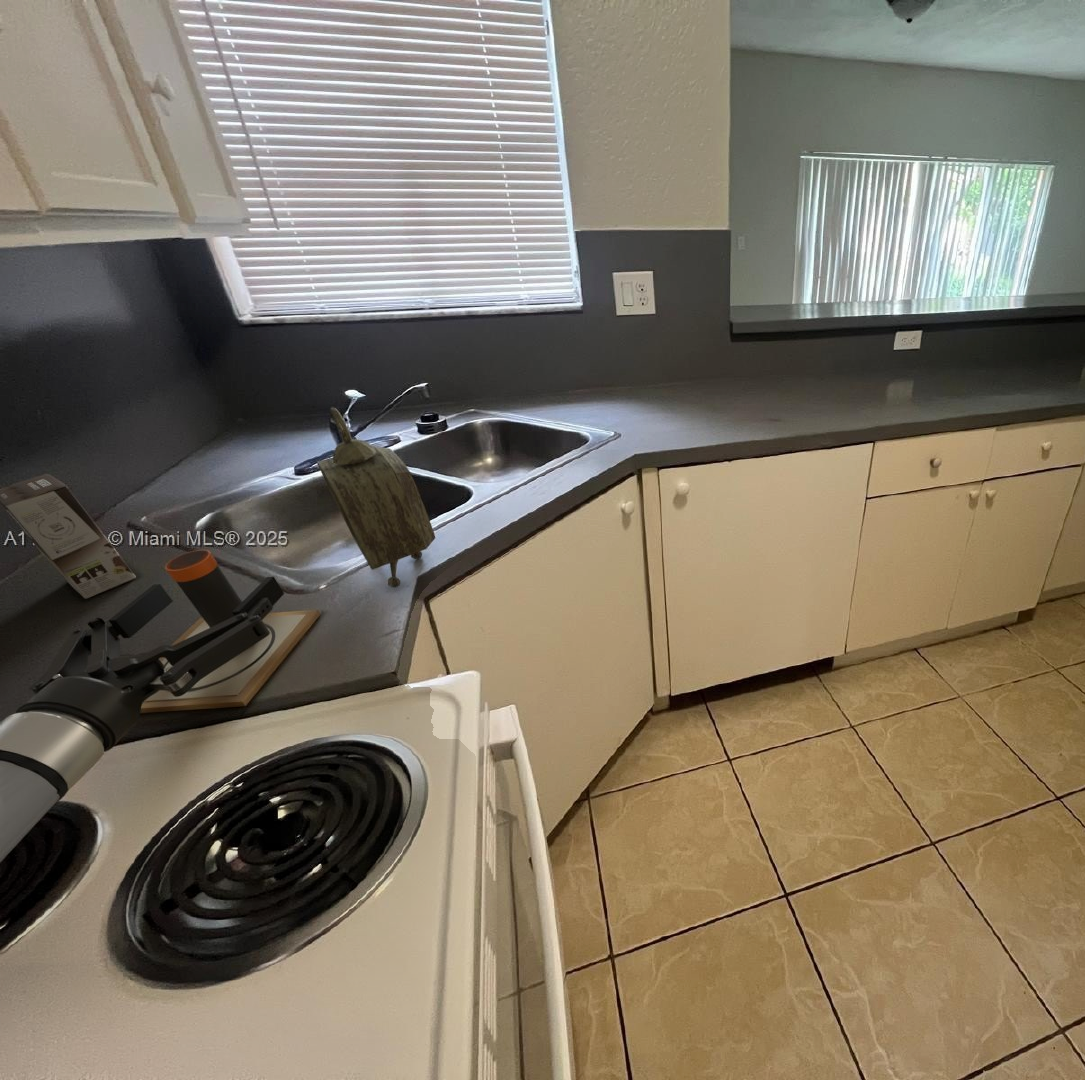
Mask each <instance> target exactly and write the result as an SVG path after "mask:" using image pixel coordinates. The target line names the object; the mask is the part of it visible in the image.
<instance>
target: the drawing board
mask: <svg viewBox="0 0 1085 1080" xmlns="http://www.w3.org/2000/svg"><path fill="white" fill-rule="evenodd" d="M321 615H322V614H321V611H320V609H308V610H306V609H305V610H294V611H278V612H277V611H276V612H275V611H274V612H269V613H268V614H267V615H266V617H265V618H264V619H263V620H262V621H263V623H264V624H265V626H266V627H267V629H268V630H269V632H270V634H269V635H268V636H267V637H265V638H264V639H262V640H261V641H259V642H258V643H256V644H254V645H253V646H251V647H250V648H248V649H247V650H245V651H244V652H242V653H241V654H239V655H238V656H236V657H235V658H233V659H231V660H230V661H228V662H227V663H225V664H224V665H222V666H221V667H219V668H218V669H216V670H215V671H213V672H211V673H210V674H208V675H207V676H205V677H204V678H202V679H201V680H200V681H198V682H197V683H196V684H195V685H194V686H193V687H192V688H191V689H190V690H189V691H188V692H187V693H185V694H184V695H182V696H179V697H174V695H173V694H172V693H171V692H170V691H168V690H159V691H158V692H157V693H155V694H153V695H152V696H150V697H149V698H147V699H146V700H145V701H144V702H143V703H142V706H141V711H140V714H150V713H161V712H162V713H164V712H178V711H194V710H207V709H222V708H223V709H224V708H235V707H236V708H238V707H247V705H248V704H249V703H250V702H251V701H252V699H253V698H254V696H256V695H257V693H258V692H259V690H261V688H262V687H263V686H264V684H265V683H266V682H267V681H268V679H269V678H270V677H271V676H272V675H273V673H274V672H275V671H276V670H277V669H278V667H279V666H280V665H281V664H282V662H283V661H284V660H285V659H286V657H287V656H288V655H289V654H290V652H291V651H292V650H293V649H294V647H295V646H296V645H298V643H299V641H301V639H302V638H303V637H304V636H305V634H306V633H307V632H308V630H309V629H310V628H311V627H312V626H313V624H314V623H315V622H316V621H317V620H318V618H319V617H320V616H321ZM209 628H210V627H209V626H208V624H207V623H206V622H205V620H204V619H203V618H202V616H201V617H199V619H198V620H196V621H195V622H194V623H193V624H192V625H191V626H190V627H189V628H188V629H187V630H186V631H185V632H184V633H182V634H181V635H180V636H179V637H178V638H177V639H176V640H175V641H174V642H172V644H171V645H170V646H173V645H175V644H177V643H179V642H181V641H183V640H185V639H188V638H190V637H192V636H194V635H196V634H198V633H200V632H202V631H204V630H206V629H209ZM159 660H160V661H161V662H162V663H163V664H164V667H165V669H166V668H167V667H169V666H172V665H171V664H170V663H169V662H168V661H167V659H166V658H164V657H161V658H159ZM164 672H166V670H165V671H164Z"/></svg>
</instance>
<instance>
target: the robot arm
mask: <svg viewBox="0 0 1085 1080" xmlns="http://www.w3.org/2000/svg"><path fill="white" fill-rule="evenodd" d="M284 595H285V592H284V590H283V589H282V588H281V586H280V584H279V583H278V581H277V579H276V577H275V576H267V577H265V579H264V580H262V581H261V583H260V584H259V585H257V587H256V588H255V589H254V590H253V591H252V592H251V593H249V595H247V597H246V598H244V599H243V600H242V603H241V604H240V605H239V606H238V607H237V608H236V609H235V610H234V611H232V613H233V614H234V617H232V618H230V619H228V620H225V621H223V622H221V623H219V624H217V625H215V626H213V627H211V628H209V629H206V630H204V631H202V632H200V633H198V634H196V635H194V636H192V637H190V638H188V639H185V640H183V641H181V642H179V643H177V644H175V645H173V646H171V645H161V646H158V647H156V648H154V649H152V650H150V651H148V652H142V653H137V654H131V653H122V654H121V639H120V638H119V636H121V637H122V638H123V639H130V638H132V637H133V636H134V635H135V634H137V633H138V632H139V631H140V630H141V629H142V628H144V627H145V626H147V624H148V623H150V622H151V621H152V620H154V618H156V616H158V615H159V614H160V613H161V612H162V611H164V610H165V609H166V608H168V606H169V605H170V604H172V603H173V602H174V600H173V598H171V596H170V595H169V594H168V592H167V591H166V590H165V589H164V587H163V586H162V585H161V584H160V583H157V584H154V583H153V584H152V585H151V586H150V587H148V589H146V590H145V591H143V592H142V593H141V594H140V595H138V596H137V597H136V598H134V600H132V601H131V602H130V603H128V604H127V605H125V606H124V607H123V608H122V609H120V610H119V611H118V612H117V613H115V614H114V615H113V616H112V617H110V619H108V620H107V621H105V620H104V619H103V618H102V617H101V616H99V617H95V618H92V619H90V620H88V621H87V625H88V626H89V628H90V629H86V628H85V627H79V628H75V629H73V630H72V631H70V633H69V634H68V636H67V638H66V639H65V640H64V642H63V644H62V646H61V648H60V649H59V651H58V652H57V654H56V655H55V657H54V659H53V661H52V662H51V664H50V665H49V667H48V668H47V670H46V672H45V673H44V674H43V675H42V676H41V677H40V678H39V679H37V680H36V681H35V682H34V683H33V684H32V685H31V686H30V687H29V689H30V691H32V692H33V693H34V695H33V696H32V697H31V698H29V699H28V700H27V701H26V702H24V703H23V704H22V705H20V706H19V707H18V708H17V709H16V712H15V713H13V714H10V715H8V716H6V717H5V718H4V719H3V720H1V721H0V863H2V862H3V860H4V859H5V858H6V857H7V856H8V855H9V854H10V853H11V852H12V851H13V849H14V848H15V847H17V845H18V844H19V843H20V842H21V841H22V840H23V838H25V837H26V835H28V833H29V832H30V831H31V830H32V829H33V828H34V827H35V826H36V824H37V823H39V821H40V820H41V819H43V817H44V816H45V815H46V814H47V813H48V812H49V811H50V810H51V809H52V807H53V806H56V805H57V804H58V803H59V802H60V801H61V800H62V799H63V798H64V797H65V796H66V795H67V793H68V792H69V791H70V790H71V789H72V788H73V787H74V786H75V785H76V784H77V783H78V782H79V781H80V780H81V779H83V777H84V776H85V775H86V774H87V773H88V772H90V770H91V769H92V768H93V767H94V766H95V765H96V764H97V763H98V762H99V761H100V760H101V759H102V758H103V756H104V755H105V753H106V752H108V751H110V750H111V749H113V748H114V747H115V746H116V744H117V743H118V742H120V741H121V740H122V738H123V737H125V736H126V734H128V733H129V731H130V730H131V729H133V727H135V725H136V724H137V723H138V721H139V720H140V717H141V713H140V711H141V706H142V703H143V702H144V701H145V700H146V699H147V698H149V697H150V696H152V695H153V694H155V693H157V692H158V691H159V690H168V691H170V692H171V693H172V694H173V695H174V697H179V696H182V695H184V694H185V693H187V692H188V691H189V690H190V689H191V688H192V687H193V686H194V685H195V684H196V683H197V682H198V681H200V680H201V679H202V678H204V677H205V676H207V675H208V674H210V673H211V672H213V671H215V670H216V669H218V668H219V667H221V666H222V665H224V664H225V663H227V662H228V661H230V660H231V659H233V658H235V657H236V656H238V655H239V654H241V653H242V652H244V651H245V650H247V649H248V648H250V647H251V646H253V645H254V644H256V643H258V642H259V641H261V640H262V639H264V638H265V637H267V636H268V635H269V634H270V632H269V630H268V629H267V627H266V626H265V624H264V623H263V621H262V620H263V619H264V618H265V617H266V615H267V614H268V613H271V611H272V610H273V608H274V605H276V603H277V602H278V601H280V599H281V598H282V597H283V596H284ZM161 657H164V658H166V659H167V661H168V662H169V663H170V664H171V665H172V666H169V667H167V668H166V669H165V667H164V664H163V663H162V662H161V661H160V660H159V658H161ZM165 670H166V672H164V671H165Z"/></svg>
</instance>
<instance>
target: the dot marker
mask: <svg viewBox="0 0 1085 1080" xmlns="http://www.w3.org/2000/svg"><path fill="white" fill-rule="evenodd" d="M164 569H165V571H166V572H167V573H168V575H169V576H170V578H171V579H172V580H173V581H174V582H176V585H178V587H179V588H180V589H181V591H182V592H183V593H184V595H185V596H186V597H187V599H188V600H189V601H190V603H191V604H192V605H193V607H194V608H195V609H196V611H197V612H198V614H199V615H200V616H201V617H202V618H203V619H204V620H205V622H206V623H207V624H208V626H209V627H210V628H211V627H213V626H215V625H217V624H219V623H221V622H223V621H225V620H228V619H230V618H232V617H234V614H233V613H232V611H234V610H235V609H236V608H237V607H238V606H239V605H240V604H241V603H242V602H243V600H242V599H241V598H240V596H239V595H238V592H236V590H235V589H234V587H233V586H232V584H231V583H230V581H229V580H228V578H227V577H226V575H225V574H224V572H223V570H222V569H221V568H220V566H219V565H218V561H217V560H216V559H215V557H214V555H213V554H212V552H211V551H210V550H207V549H196V550H192V551H188V552H185V553H182V554H180V555H178V556H176V557H173V559H171V560H170V561H168V562H167V563H166V564H165V566H164Z"/></svg>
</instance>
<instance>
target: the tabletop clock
mask: <svg viewBox="0 0 1085 1080" xmlns="http://www.w3.org/2000/svg"><path fill="white" fill-rule="evenodd" d="M330 414H331V417H332V418H333V420H334V422H335V424H336V426H337V429H338V431H339V434H340V436H341V438H342V439H341V440H342V442H340V443H338V444H337V445H336V446H335V448H334V451H333V455H332V457H329V458H326V459H322V460H318V461H316V464H317V466H318V469H319V470H320V471H319V472H320V473H321V475H322V477H323V479H324V481H325V483H326V486H327V487H328V490H329V492H330V494H331V495H332V498H333V500H334V502H335V504H336V506H337V508H338V510H339V512H340V514H341V516H342V519H343V520H344V522H345V524H346V526H347V529H348V530H349V532H350V535H351V536H352V538H353V540H354V541H355V544H356V545H357V547H358V549H359V550H360V552H361V554H362V556H363V557H364V559H365V561H366V563H367V564H368V565H369V567H370V569H371V570H372V571H373V570H375V569H378V568H381V567H384V566H386V565H390V574H391V577H389V578H388V579H387V585H388V587H390V588H394V589H395V588H398V587H399V586H400V584H401V579H400V578H399V577H398V576H397V568H398V563H399V560H401V559H404V558H406V557H407V558H408V557H409V556H410V557H411V558H412V559H413V560H420V559H421V558H422V557H423V552H422V551H425V550H427V549H428V547H429V546H430V545H431V544H432V543H433V542H434V541H435V539H436V535H435V531H434V529H433V526H432V523H431V521H430V517H429V515H428V512H427V510H426V507H425V505H424V502H423V500H422V497H421V494H420V491H419V489H418V487H417V485H416V482H415V480H414V478H413V476H412V473H411V471H410V469H409V468H408V466H407V465H406V463H404V461H403V460H402V459H401V458H400V457H399V456H398V455H397V453H395V452H394V451H393V450H392V449H391V448H387V447H383V446H382V447H381V446H375V445H371V444H370V443H369V442H367V441H365V440H362V439H359V438H355V439H353V438H352V436H351V433H350V431H349V429H348V426H347V424H346V421H345V420H344V418H343V416H342V414H341V412H340V411H339V410H338V409H337V408H336V407H331V408H330Z"/></svg>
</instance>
